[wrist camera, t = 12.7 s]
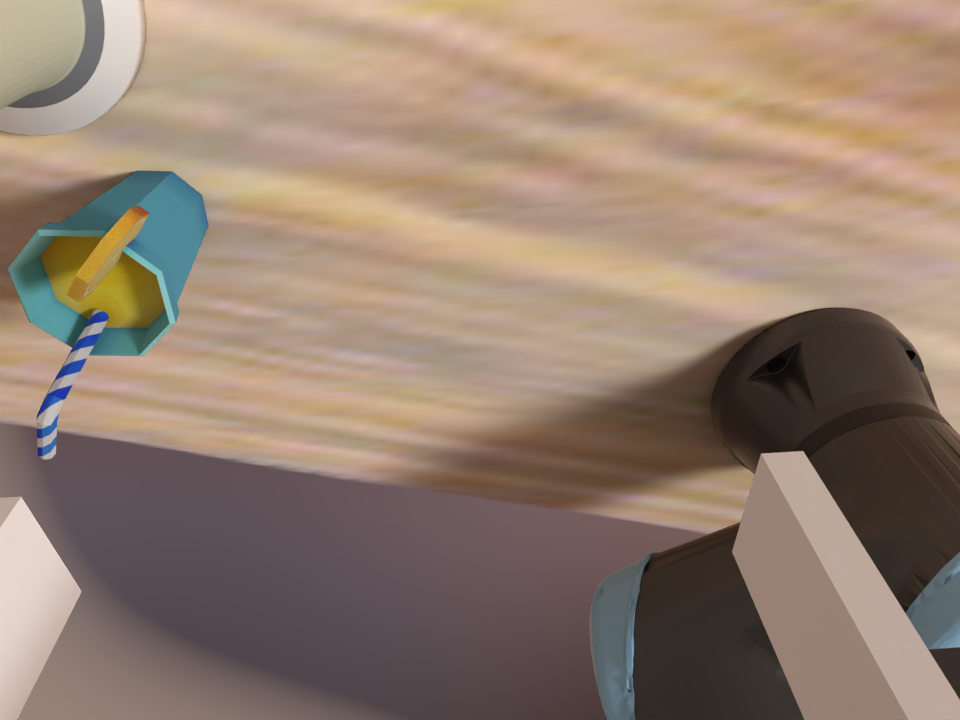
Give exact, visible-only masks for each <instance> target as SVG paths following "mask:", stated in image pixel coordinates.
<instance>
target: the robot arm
mask: <svg viewBox="0 0 960 720" xmlns="http://www.w3.org/2000/svg"><path fill="white" fill-rule="evenodd" d="M712 418H713V422H714V425H715V427H716V429H717V431H718V433H719V435H720V437H721V439H722V441H723V443H724V445H725V447H726V448H727V450H728V451H729V452H730V454H731V455H732V456H733V457H734V458H735V459H736V460H737V461H738V462H739V463H741V464H742V465H743V466H745V467H746V468H747V469H749V470H750V471H751V472H753V473H754V474H755V476H754V479H753V482H752V486H751V489H750V493H749V496H748V499H747V503H746V506H745V510H744V513H743V516H742V520H741V522H739V523H737V524H734V525H731V526H729V527H726V528H723V529H721V530H718V531H716V532H713V533H710V534H708V535H705V536H702V537H700V538H697V539H694V540H692V541H689V542H686V543H684V544H681V545H679V546H676V547H673V548H671V549H668V550H665V551H663V552H660V553H658V552H657V551H655V552H651V553H649V554H647V555H646V556H645V557H644V558H643V559H642V560H640V561H637V562H635V563H633V564H631V565H629V566H626V567H624V568H622V569H620V570H618V571H615V572H613V573H611V574H609V575H608V576H607V577H605V578H604V579H603V580H602V581H601V583H600V584H599V585H598V587H597V589H596V592H595V594H594V597H593V602H592V608H591V612H590V641H591V652H592V658H593V665H594V671H595V676H596V681H597V685H598V690H599V694H600V698H601V702H602V705H603V709H604V712H605V715H606V717H607V719H608V720H960V435H959V434H958V433H957V432H956V431H955V430H954V429H953V428H952V426H951V425H950V424H949V423H948V422H947V421H946V420H945V419H944V418H943V417H942V415H941V414H940V412H939V409H938V406H937V404H936V401H935V398H934V395H933V392H932V389H931V386H930V384H929V381H928V378H927V376H926V374H925V371H924V367H923V364H922V361H921V358H920V356H919V354H918V352H917V351H916V349H915V348H914V346H913V345H912V344H911V343H910V341H909V340H908V339H907V338H906V337H905V336H904V335H903V334H902V333H901V332H900V331H899V330H898V329H897V328H896V327H895V326H894V325H893V324H891V323H890V322H889V321H887V320H886V319H884V318H883V317H881V316H878V315H876V314H874V313H871V312H867V311H864V310H858V309H850V308H833V309H824V310H818V311H813V312H809V313H805V314H802V315H799V316H796V317H793V318H790V319H788V320H786V321H783V322H781V323H779V324H777V325H775V326H773V327H771V328H770V329H768V330H766V331H765V332H763V333H761V334H760V335H758V336H757V337H756V338H754V339H753V340H752V341H750V342H749V343H748V344H747V345H746V346H745V347H743V348H742V349H741V350H740V351H739V352H738V353H737V354H736V355H735V356H734V358H733V359H732V360H731V361H730V362H729V364H728V365H727V366H726V368H725V369H724V371H723V372H722V374H721V376H720V378H719V380H718V382H717V384H716V387H715V390H714V393H713V398H712ZM80 594H81V590H80V588H79V587H78V585H77V584H76V582H75V581H74V579H73V577H72V576H71V574H70V573H69V571H68V570H67V568H66V566H65V565H64V564H63V562H62V560H61V559H60V557H59V555H58V554H57V552H56V551H55V549H54V548H53V546H52V545H51V543H50V542H49V540H48V538H47V537H46V535H45V534H44V532H43V530H42V529H41V527H40V526H39V524H38V523H37V521H36V520H35V518H34V516H33V515H32V513H31V512H30V510H29V509H28V507H27V505H26V504H25V502H24V501H23V499H22V498H21V497H10V498H0V720H17V719H18V717H19V715H20V713H21V711H22V709H23V707H24V705H25V703H26V701H27V699H28V697H29V695H30V693H31V691H32V689H33V687H34V685H35V683H36V681H37V679H38V677H39V675H40V673H41V671H42V669H43V667H44V665H45V663H46V661H47V659H48V657H49V655H50V653H51V651H52V649H53V647H54V645H55V643H56V641H57V639H58V637H59V636H60V633H61V631H62V629H63V628H64V625H65V624H66V622H67V619H68V618H69V616H70V613H71V611H72V610H73V608H74V606H75V604H76V601H77V599H78V597H79V596H80Z"/></svg>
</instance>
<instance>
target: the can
mask: <svg viewBox="0 0 960 720" xmlns="http://www.w3.org/2000/svg"><path fill="white" fill-rule="evenodd" d="M85 31H86V29H85V13H84V8H83V3H82V0H0V110H1V109H2V108H4V107H6V106H8V105H10V104H12V103H13V102H15V101H17V100H19V99H21V98H23V97H25V96H27V95H29V94H31V93H33V92H37V91H41V90H44V89H47V88H50V87H52V86H54V85H55V84H57V83H59V82H60V81H61V80H63V79H64V78H65V77H66V76H67V75H68V74H69V73H70V72H71V71H72V69H73V68H74V67H75V65H76V63H77V62H78V60H79V57H80V55H81V52H82V49H83V45H84V40H85Z"/></svg>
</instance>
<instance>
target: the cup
mask: <svg viewBox="0 0 960 720" xmlns="http://www.w3.org/2000/svg"><path fill="white" fill-rule="evenodd" d="M207 228H208V222H207V217H206V212H205V208H204V203H203V198H202V195H201V194H200V193H199V192H197V191H196V190H195V189H194V188H192V187H191V186H190V185H188V184H187V183H186V182H185V181H183V180H182V179H181V178H180V177H178V176H177V175H176V174H175V173H173V172H163V171H136V172H135V173H133V174H132V175H130V176H129V177H127V178H126V179H125V180H123V181H122V182H120V183H119V184H117V185H116V186H114V187H113V188H111V189H110V190H108V191H107V192H105V193H104V194H102V195H101V196H99V197H98V198H96V199H95V200H93V201H92V202H90V203H89V204H88V205H86V206H85V207H83V208H82V209H80V210H79V211H77V212H76V213H74V214H73V215H71V216H70V217H68V218H67V219H65V220H64V221H62V222H61V223H49V224H47V225H45V226H43V227H41V228H40V229H38V230H37V231H36V233H35V234H34V235H33V237H32V238H31V239H30V240H29V242H28V243H27V244H26V246H25V247H24V248H23V249H22V251H21V252H20V253H19V255H18V256H17V257H16V259H15V260H14V261H13V262H12V264H11V265H10V266H9V268H8V269H7V270H8V272H9V274H10V277H11V279H12V281H13V284H14V286H15V289H16V291H17V293H18V296H19V298H20V301H21V303H22V305H23V308H24V310H25V312H26V315H27V317H28V320H29V322H31V323H33V324H34V325H36V326H38V327H39V328H41V329H43V330H44V331H46V332H47V333H49V334H51V335H52V336H54V337H56V338H57V339H59V340H61V341H62V342H64V343H65V344H67V345H69V346H70V347H72V350H71V352H70V354H69V355H68V357H67V359H66V361H65V362H64V364H63V366H62V368H61V370H60V371H59V373H58V375H57V377H56V378H55V380H54V382H53V384H52V385H51V387H50V389H49V391H48V393H47V394H46V396H45V398H44V401H43V403H42V406H41V408H40V410H39V412H38V415H37V442H38V456H39V457H40V458H42V459H51V458H52V457H53V456H55V455H56V436H57V420H58V416H59V412H60V409H61V407H62V404H63V402H64V400H65V398H66V396H67V395H68V393H69V391H70V389H71V387H72V385H73V384H74V382H75V380H76V378H77V376H78V374H79V372H80V371H81V369H82V367H83V365H84V363H85V361H86V360H87V358H88V356H144V355H145V354H146V353H147V352H148V351H149V350H150V349H151V348H152V347H153V346H154V345H155V344H156V343H157V342H158V341H159V340H160V339H161V337H162V336H163V335H164V334H165V333H166V332H167V331H168V330H169V329H170V328H171V327H172V326H173V325H174V324H175V323H176V320H177V317H178V314H179V310H178V306H177V302H178V299H179V297H180V294H181V292H182V290H183V287H184V285H185V282H186V280H187V277H188V275H189V272H190V270H191V267H192V265H193V262H194V260H195V258H196V255H197V253H198V250H199V248H200V245H201V243H202V240H203V238H204V235H205V233H206V230H207Z"/></svg>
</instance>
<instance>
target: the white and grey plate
mask: <svg viewBox="0 0 960 720" xmlns="http://www.w3.org/2000/svg"><path fill="white" fill-rule="evenodd" d="M82 3H83V8H84V13H85V29H86V31H85V40H84V45H83V49H82V52H81V55H80V57H79V60H78V62H77V63H76V65H75V67H74V68H73V69H72V71H71V72H70V73H69V74H68V75H67V76H66V77H65V78H64V79H63V80H61V81H60V82H59V83H57V84H55V85H54V86H52V87H50V88H47V89H44V90H41V91H37V92H33V93H31V94H29V95H27V96H25V97H23V98H21V99H19V100H17V101H15V102H13V103H12V104H10V105H8V106H6V107H4V108H2V109H1V110H0V131H4V132H8V133H14V134H21V135H38V136H45V135H54V134H61V133H65V132H69V131H73V130H76V129H78V128H81V127H83V126H85V125H87V124H90V123H91V122H93V121H94V120H96V119H97V118H99V117H100V116H102V115H103V114H104V113H106V112H107V111H109V110H110V109H111V108H113V107H114V106H115V105H116V104H117V103H118V102H119V101H120V100H121V99H122V98H123V97H124V96H125V94H126V93H127V92H128V90H129V89H130V88H131V86H132V84H133V82H134V80H135V78H136V76H137V74H138V73H139V69H140V66H141V63H142V60H143V56H144V50H145V44H146V15H145V6H144V0H82Z"/></svg>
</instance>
